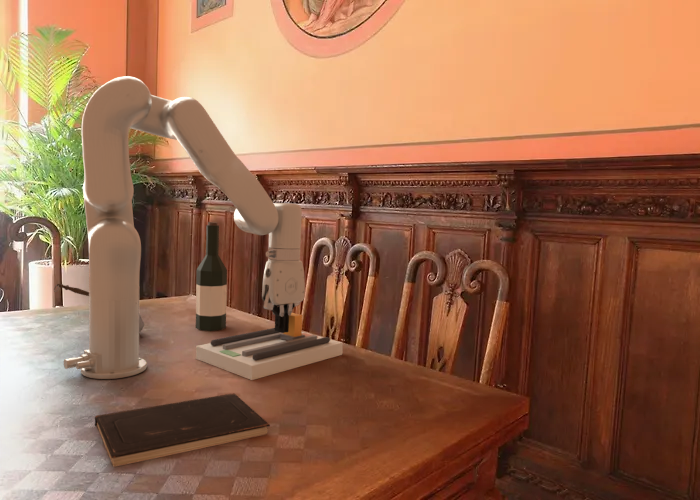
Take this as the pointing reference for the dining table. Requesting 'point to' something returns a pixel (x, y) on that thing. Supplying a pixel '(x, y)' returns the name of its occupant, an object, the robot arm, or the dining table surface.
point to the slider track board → (241, 362)
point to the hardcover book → (177, 428)
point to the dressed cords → (270, 352)
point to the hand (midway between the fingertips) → (281, 331)
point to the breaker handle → (293, 328)
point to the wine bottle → (211, 285)
